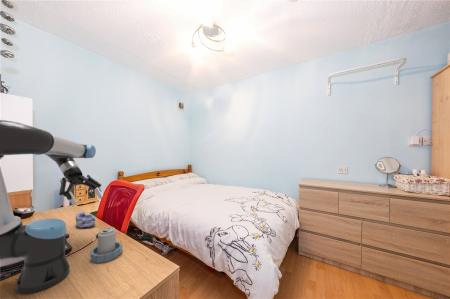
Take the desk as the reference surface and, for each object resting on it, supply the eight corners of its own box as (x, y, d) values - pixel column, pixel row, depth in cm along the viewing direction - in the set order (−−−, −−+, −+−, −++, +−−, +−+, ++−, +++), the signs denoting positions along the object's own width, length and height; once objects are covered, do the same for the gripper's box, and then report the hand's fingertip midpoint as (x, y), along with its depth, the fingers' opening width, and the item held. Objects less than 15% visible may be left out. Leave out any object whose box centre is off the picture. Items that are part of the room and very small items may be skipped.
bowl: (115, 261, 83) (116, 254, 83) (84, 264, 80) (84, 257, 80) (125, 246, 96) (125, 240, 96) (98, 249, 93) (98, 242, 93)
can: (93, 254, 86) (95, 230, 86) (109, 247, 93) (110, 225, 93) (102, 259, 83) (103, 234, 83) (118, 251, 90) (119, 228, 90)
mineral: (72, 213, 119) (90, 208, 127) (72, 226, 120) (90, 220, 128) (79, 220, 111) (98, 215, 119) (79, 234, 112) (97, 228, 120)
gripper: (90, 173, 112) (106, 199, 107) (39, 178, 88) (57, 211, 83) (96, 165, 110) (113, 191, 105) (46, 168, 86) (65, 202, 82)
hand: (89, 200), depth 94 cm, fingers open, 13 cm apart
